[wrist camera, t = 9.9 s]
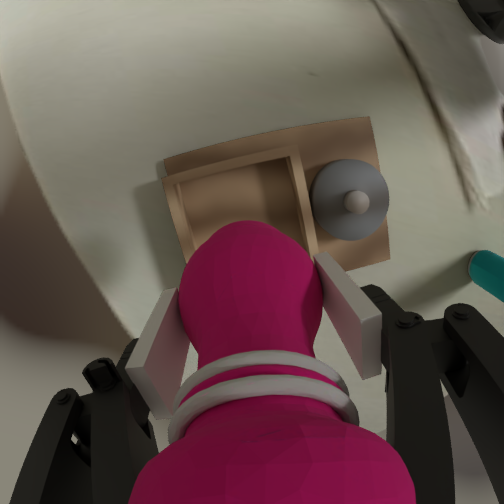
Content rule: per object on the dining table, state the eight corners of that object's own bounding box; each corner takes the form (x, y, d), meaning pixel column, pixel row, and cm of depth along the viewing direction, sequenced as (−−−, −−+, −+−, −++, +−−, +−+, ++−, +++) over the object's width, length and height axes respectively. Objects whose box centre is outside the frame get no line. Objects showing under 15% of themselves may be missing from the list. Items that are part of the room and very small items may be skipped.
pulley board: (166, 159, 32) (153, 159, 27) (365, 117, 31) (384, 112, 26) (207, 300, 37) (203, 321, 32) (386, 256, 37) (405, 270, 32)
